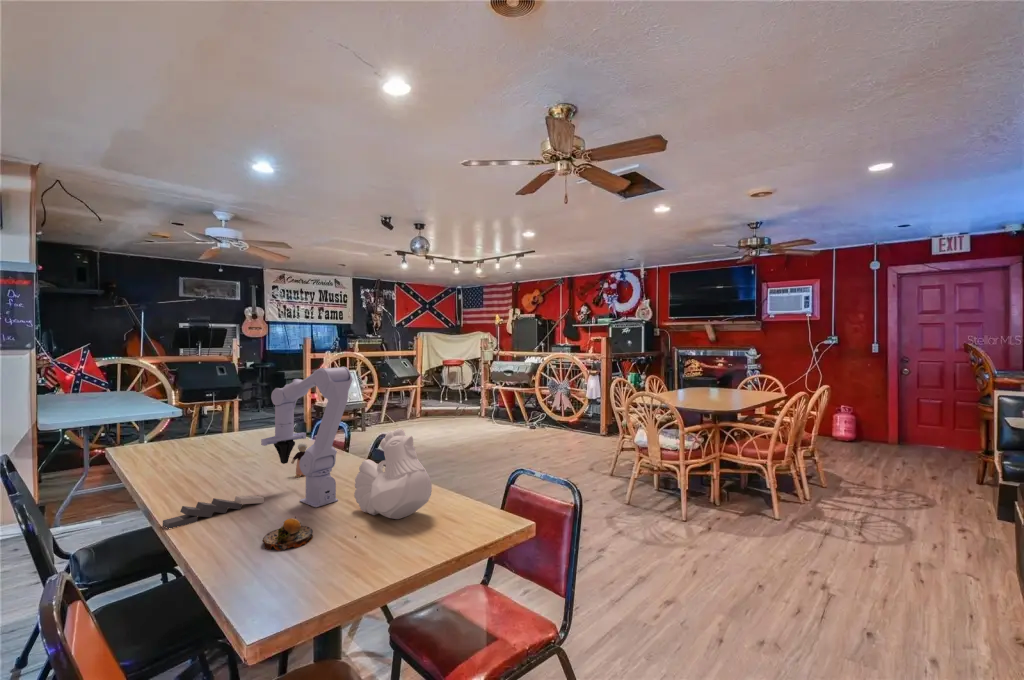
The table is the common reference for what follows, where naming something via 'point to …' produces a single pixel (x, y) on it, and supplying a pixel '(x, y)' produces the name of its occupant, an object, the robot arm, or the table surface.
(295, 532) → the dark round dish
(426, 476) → the decorative rooster
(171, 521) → the tile
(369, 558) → the table surface
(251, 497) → the ivory tile
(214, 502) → the tile
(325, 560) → the table surface
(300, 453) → the grandmother figurine
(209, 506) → the tile
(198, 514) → the tile
